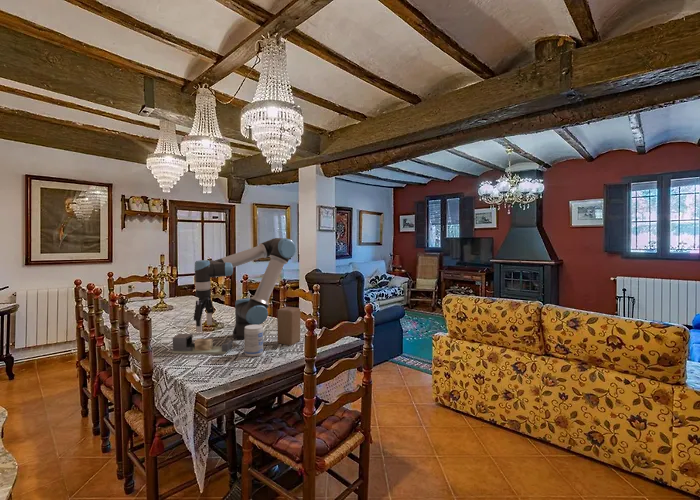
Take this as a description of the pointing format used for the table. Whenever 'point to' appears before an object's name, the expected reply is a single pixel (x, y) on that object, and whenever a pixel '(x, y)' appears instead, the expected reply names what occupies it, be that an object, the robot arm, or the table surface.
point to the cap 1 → (183, 342)
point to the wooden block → (288, 325)
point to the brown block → (203, 344)
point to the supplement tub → (253, 340)
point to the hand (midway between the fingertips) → (204, 328)
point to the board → (204, 351)
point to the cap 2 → (227, 346)
